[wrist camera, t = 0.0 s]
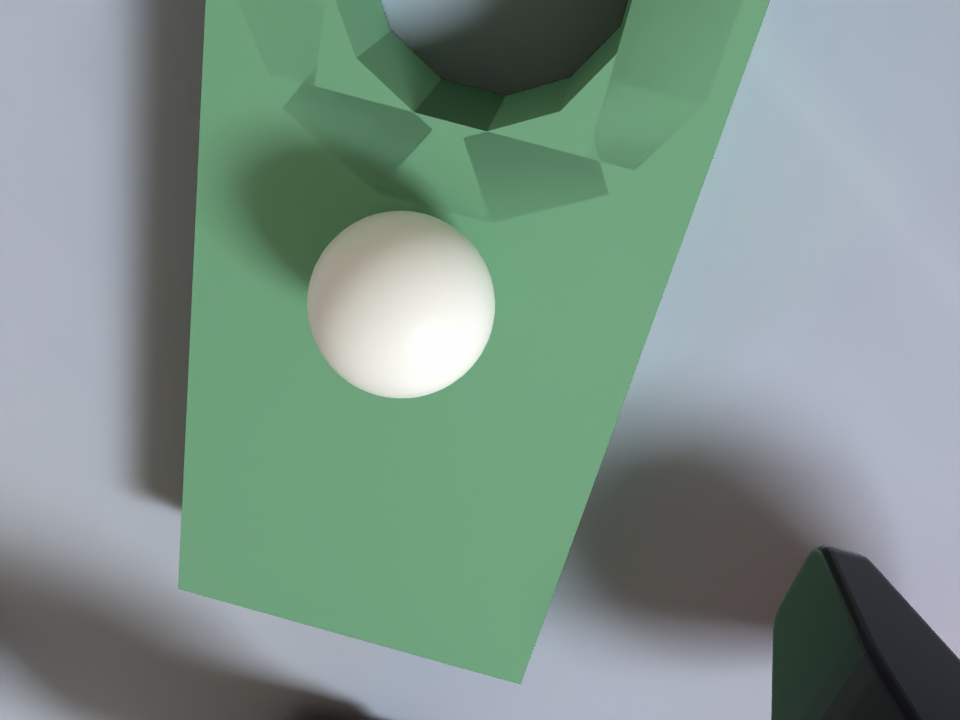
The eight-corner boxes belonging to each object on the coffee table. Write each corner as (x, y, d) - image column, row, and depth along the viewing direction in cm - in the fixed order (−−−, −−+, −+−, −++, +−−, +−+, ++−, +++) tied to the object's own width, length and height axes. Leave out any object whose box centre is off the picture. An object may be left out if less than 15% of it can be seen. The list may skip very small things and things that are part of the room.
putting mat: (531, 612, 30) (507, 771, 25) (217, 525, 31) (131, 665, 25) (833, -250, 17) (911, -281, 12) (286, -386, 18) (139, -471, 13)
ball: (486, 359, 22) (456, 457, 19) (329, 316, 22) (271, 406, 19) (524, 210, 20) (499, 289, 17) (350, 164, 20) (290, 233, 17)
